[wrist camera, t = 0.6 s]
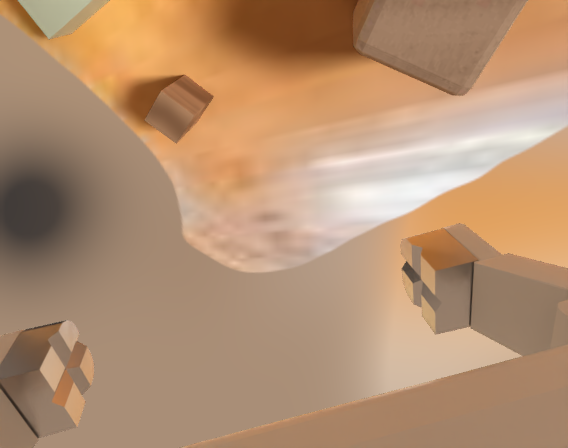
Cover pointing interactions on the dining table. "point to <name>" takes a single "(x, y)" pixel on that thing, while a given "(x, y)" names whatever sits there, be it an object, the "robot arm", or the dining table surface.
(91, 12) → the base block
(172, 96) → the walnut block
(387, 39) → the block
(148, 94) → the dining table surface
